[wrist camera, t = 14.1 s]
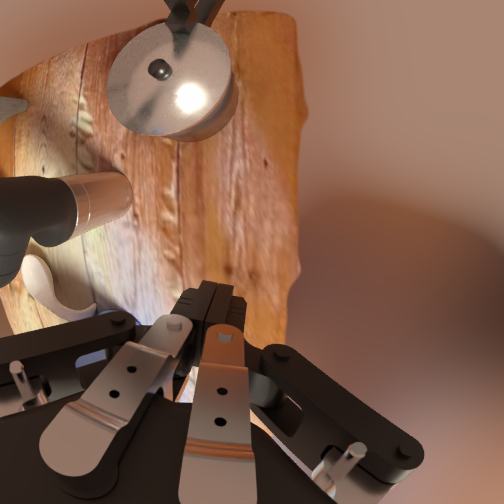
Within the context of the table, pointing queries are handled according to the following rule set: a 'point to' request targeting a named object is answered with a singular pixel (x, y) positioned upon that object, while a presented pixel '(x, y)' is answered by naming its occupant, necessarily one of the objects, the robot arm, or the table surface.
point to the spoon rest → (48, 289)
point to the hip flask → (11, 107)
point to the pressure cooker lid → (169, 74)
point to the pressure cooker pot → (225, 110)
